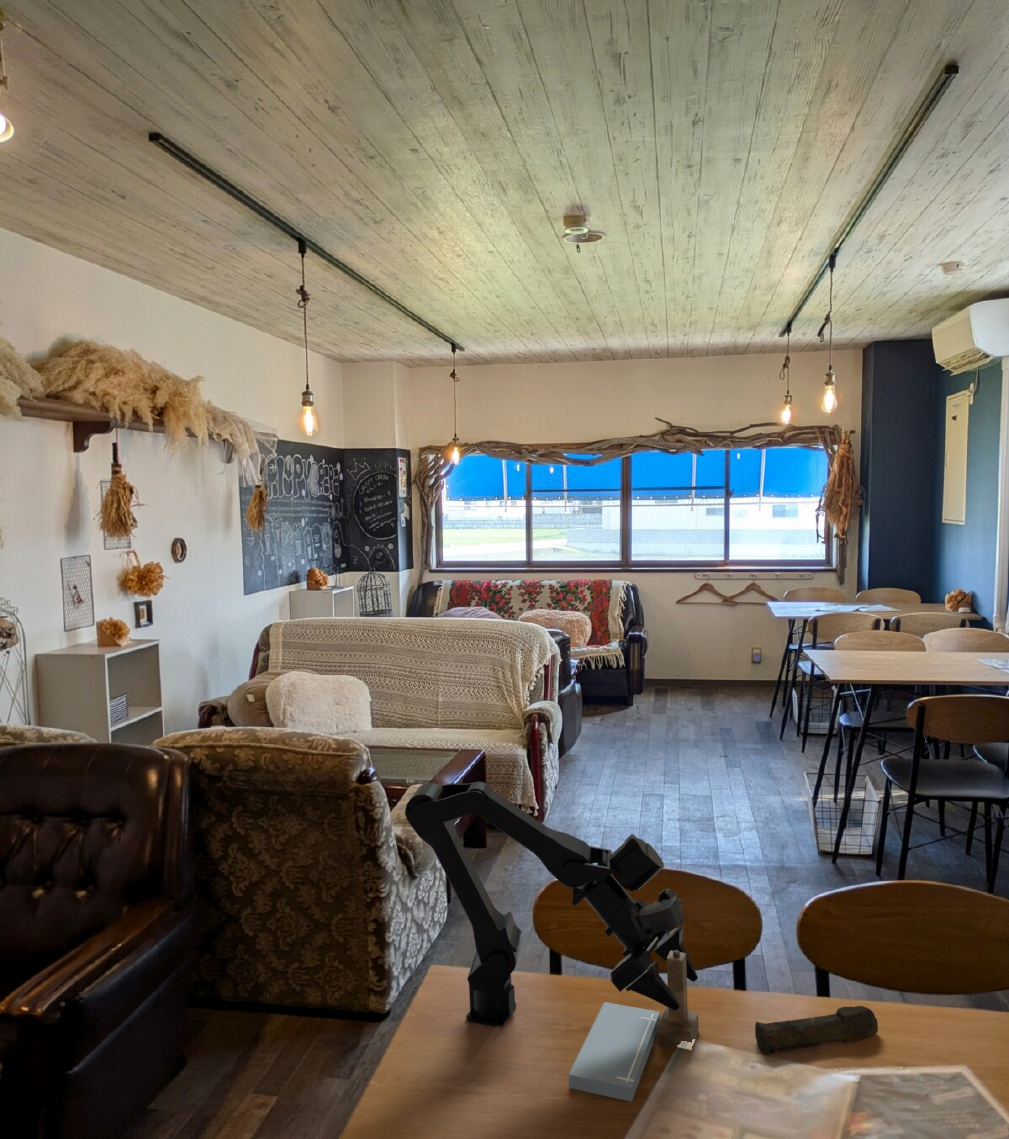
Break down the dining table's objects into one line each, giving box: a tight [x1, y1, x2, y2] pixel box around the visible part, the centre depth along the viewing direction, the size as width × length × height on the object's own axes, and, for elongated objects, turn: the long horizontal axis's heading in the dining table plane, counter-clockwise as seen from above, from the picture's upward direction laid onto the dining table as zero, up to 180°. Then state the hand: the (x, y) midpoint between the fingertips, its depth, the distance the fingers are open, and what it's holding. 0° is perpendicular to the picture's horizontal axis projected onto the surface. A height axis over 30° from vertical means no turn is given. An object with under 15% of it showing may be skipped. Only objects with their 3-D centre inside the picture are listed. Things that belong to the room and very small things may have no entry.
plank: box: [568, 1001, 661, 1103], centre depth 130 cm, size 9×19×2 cm, turn 158°
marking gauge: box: [657, 950, 700, 1048], centre depth 133 cm, size 5×5×14 cm
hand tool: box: [754, 1005, 879, 1054], centre depth 130 cm, size 19×4×5 cm, turn 96°
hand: (687, 993), depth 132 cm, fingers open, 8 cm apart
